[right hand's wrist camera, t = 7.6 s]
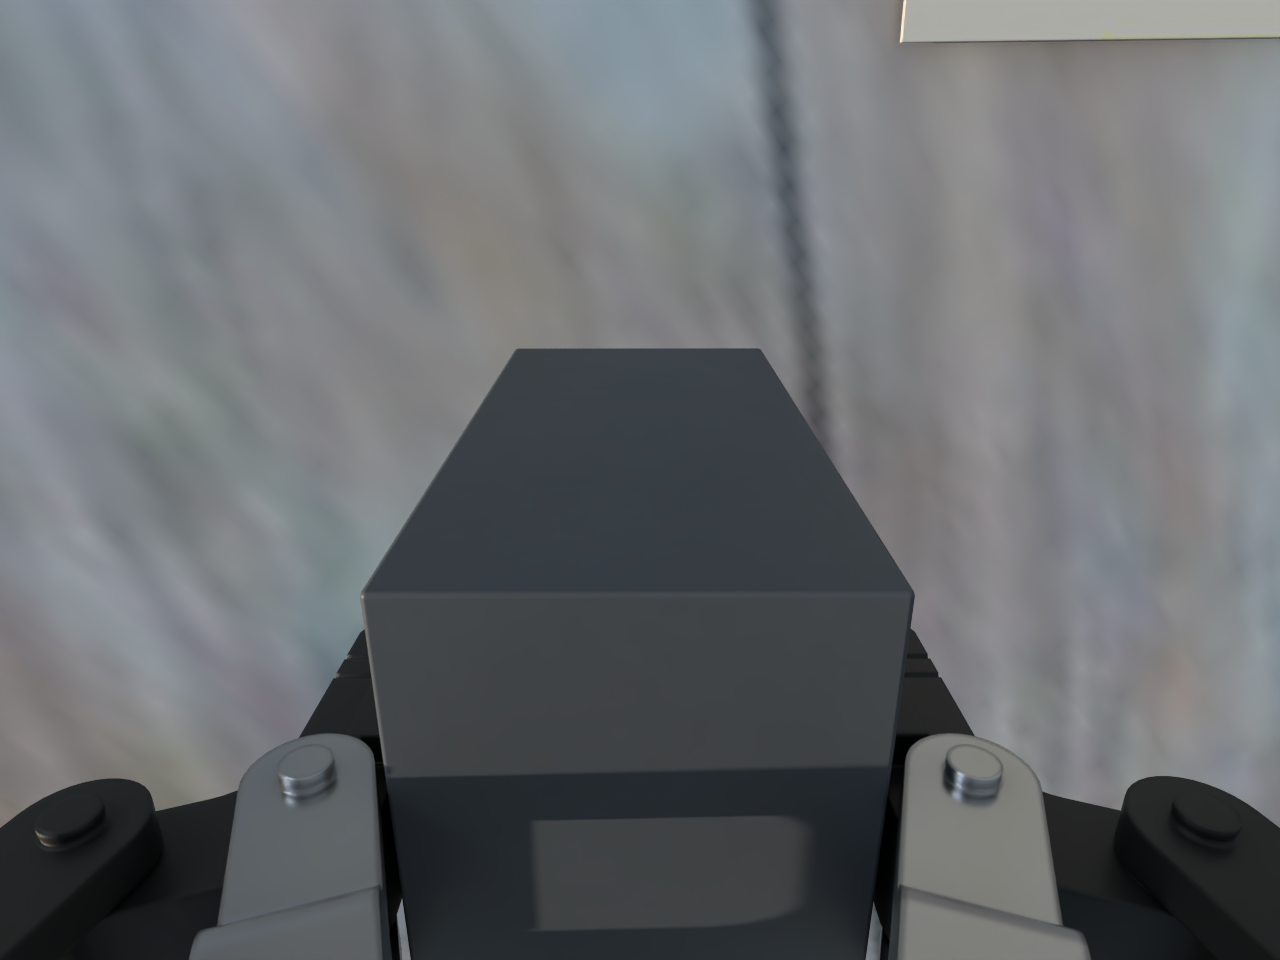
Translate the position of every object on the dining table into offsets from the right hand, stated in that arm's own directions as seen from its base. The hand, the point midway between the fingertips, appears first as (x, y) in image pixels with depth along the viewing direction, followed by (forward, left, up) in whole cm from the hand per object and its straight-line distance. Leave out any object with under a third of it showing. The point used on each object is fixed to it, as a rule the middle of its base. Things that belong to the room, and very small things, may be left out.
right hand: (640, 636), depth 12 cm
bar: (+9, +5, -5) cm, 12 cm away
